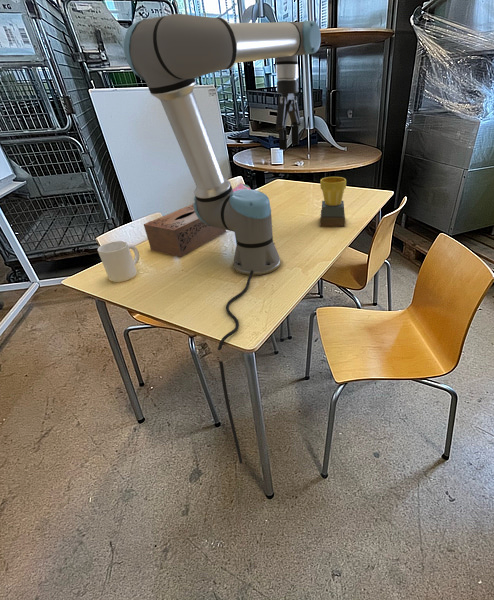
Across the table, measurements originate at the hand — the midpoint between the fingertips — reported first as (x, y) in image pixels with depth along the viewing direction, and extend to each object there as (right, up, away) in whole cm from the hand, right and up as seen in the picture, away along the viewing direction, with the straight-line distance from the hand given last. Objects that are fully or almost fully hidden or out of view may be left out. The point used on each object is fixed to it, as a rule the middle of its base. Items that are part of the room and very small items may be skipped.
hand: (289, 147), depth 127 cm
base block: (+18, -25, +16) cm, 34 cm away
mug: (-51, -50, -19) cm, 74 cm away
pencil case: (-28, -12, +38) cm, 48 cm away
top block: (+18, -22, +14) cm, 31 cm away
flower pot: (+17, -18, +12) cm, 28 cm away
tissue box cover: (-39, -35, +3) cm, 52 cm away
